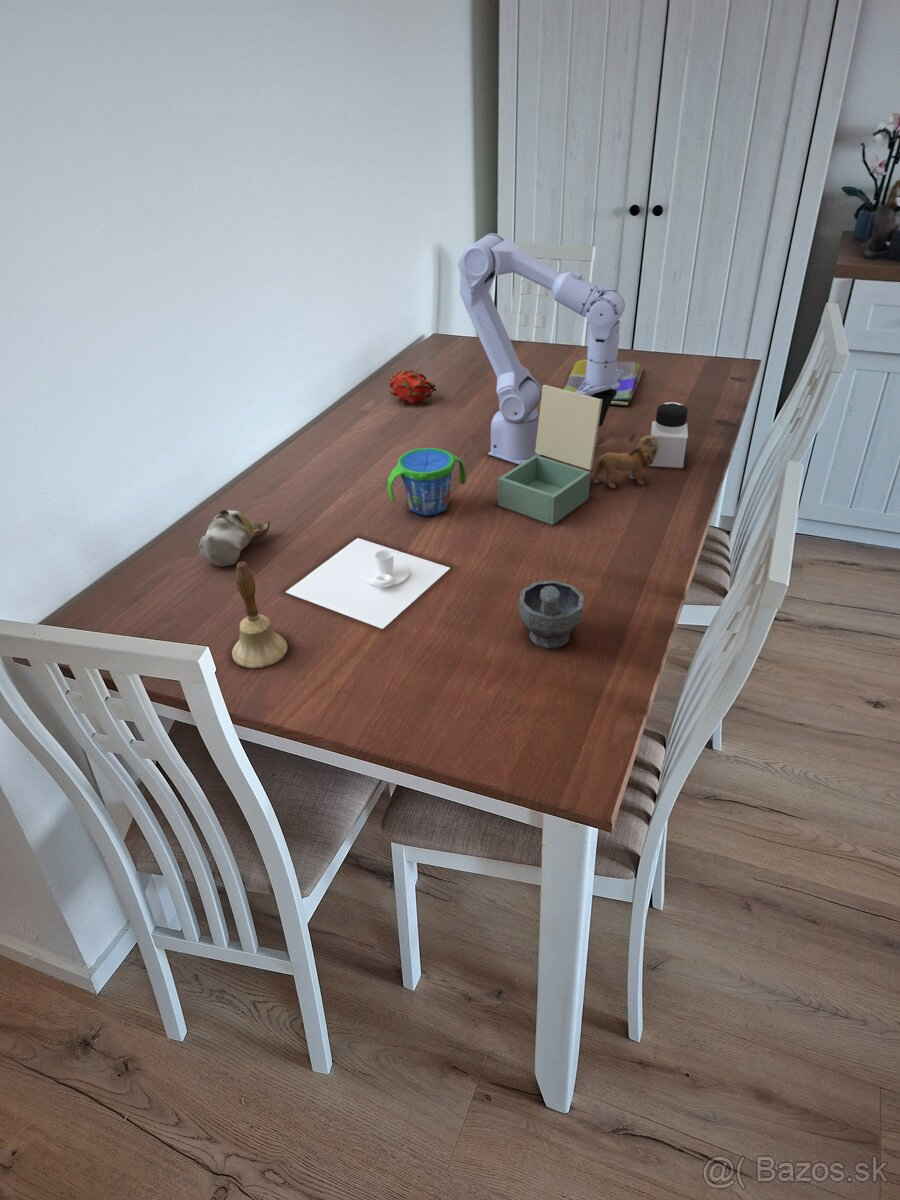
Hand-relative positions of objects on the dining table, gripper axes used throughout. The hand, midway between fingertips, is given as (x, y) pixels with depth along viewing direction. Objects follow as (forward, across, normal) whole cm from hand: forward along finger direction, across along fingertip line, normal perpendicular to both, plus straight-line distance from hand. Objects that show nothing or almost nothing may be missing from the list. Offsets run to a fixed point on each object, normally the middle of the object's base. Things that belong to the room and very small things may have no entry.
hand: (596, 424), depth 170 cm
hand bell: (+10, -82, +9) cm, 83 cm away
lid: (-4, -12, 0) cm, 12 cm away
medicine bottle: (+10, +12, -11) cm, 18 cm away
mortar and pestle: (+10, -54, -24) cm, 60 cm away
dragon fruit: (+10, +5, +54) cm, 55 cm away
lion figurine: (+10, -2, -8) cm, 13 cm away
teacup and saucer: (+10, -58, +9) cm, 60 cm away
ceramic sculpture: (+10, -66, +35) cm, 75 cm away
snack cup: (+10, -33, +17) cm, 38 cm away
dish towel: (+10, +40, +21) cm, 46 cm away
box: (+9, -18, 0) cm, 21 cm away
